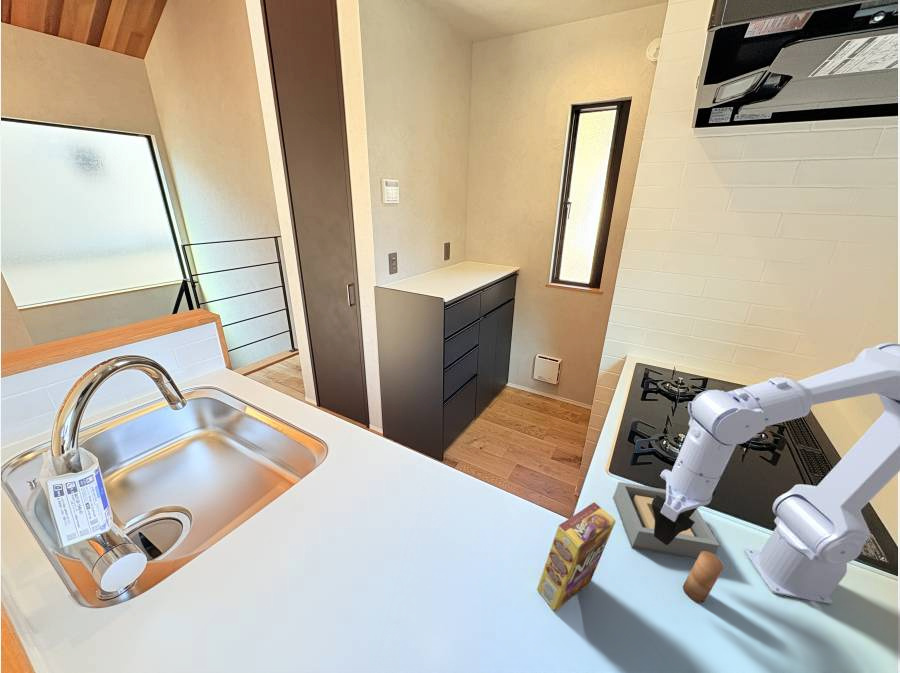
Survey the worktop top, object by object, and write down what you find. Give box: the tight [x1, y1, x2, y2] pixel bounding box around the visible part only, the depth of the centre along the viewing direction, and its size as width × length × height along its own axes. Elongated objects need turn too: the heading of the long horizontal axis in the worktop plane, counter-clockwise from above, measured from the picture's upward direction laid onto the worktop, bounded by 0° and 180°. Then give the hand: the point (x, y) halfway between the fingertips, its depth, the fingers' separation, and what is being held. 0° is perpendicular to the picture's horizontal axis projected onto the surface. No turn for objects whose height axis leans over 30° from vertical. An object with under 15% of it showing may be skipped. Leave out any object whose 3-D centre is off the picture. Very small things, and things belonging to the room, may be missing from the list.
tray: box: [612, 481, 721, 561], centre depth 70 cm, size 14×12×4 cm
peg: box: [682, 551, 725, 604], centre depth 58 cm, size 3×3×8 cm
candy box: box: [536, 501, 616, 613], centre depth 55 cm, size 9×4×15 cm, turn 124°
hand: (670, 527), depth 59 cm, fingers open, 7 cm apart
